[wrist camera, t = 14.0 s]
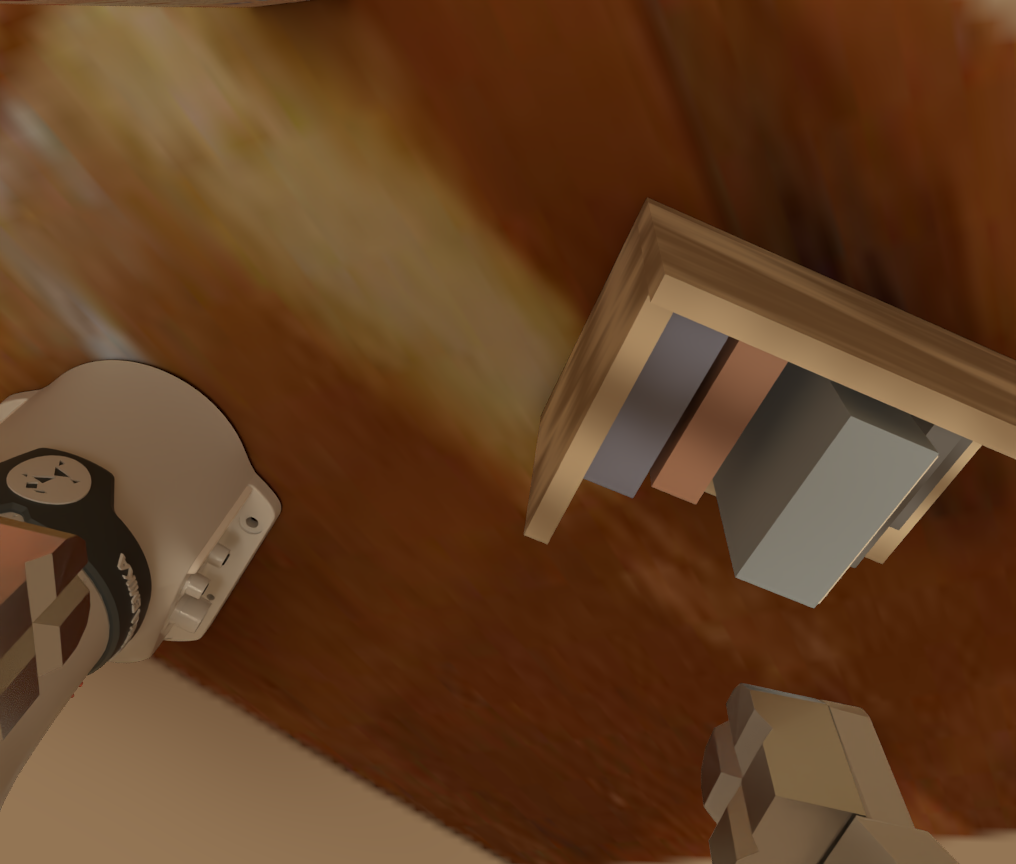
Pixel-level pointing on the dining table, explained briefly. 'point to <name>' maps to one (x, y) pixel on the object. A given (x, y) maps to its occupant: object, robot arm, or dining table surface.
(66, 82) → the dining table surface
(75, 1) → the cracker box
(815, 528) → the grey rectangular block
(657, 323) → the shelf
